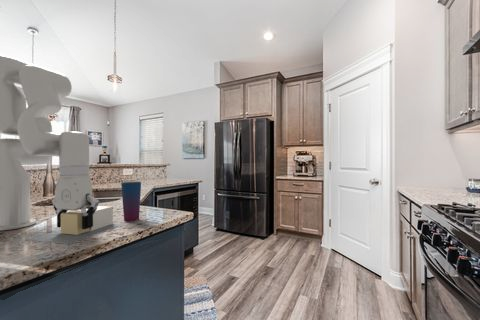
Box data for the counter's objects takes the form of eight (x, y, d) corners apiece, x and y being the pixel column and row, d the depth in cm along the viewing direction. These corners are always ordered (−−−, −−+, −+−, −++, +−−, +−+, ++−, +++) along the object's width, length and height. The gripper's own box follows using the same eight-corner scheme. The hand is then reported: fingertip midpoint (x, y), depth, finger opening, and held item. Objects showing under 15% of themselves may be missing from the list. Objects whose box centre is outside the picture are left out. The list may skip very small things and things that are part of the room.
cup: (133, 224, 81) (133, 183, 81) (117, 224, 82) (116, 182, 82) (145, 219, 88) (144, 181, 88) (129, 219, 89) (129, 181, 89)
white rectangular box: (74, 229, 73) (74, 211, 73) (98, 222, 81) (98, 205, 82) (90, 231, 71) (90, 211, 71) (113, 223, 80) (112, 206, 80)
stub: (60, 233, 69) (60, 213, 69) (73, 229, 72) (73, 210, 73) (77, 234, 67) (77, 214, 67) (89, 230, 71) (89, 211, 71)
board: (25, 242, 64) (25, 239, 64) (88, 223, 83) (88, 221, 83) (69, 247, 60) (69, 244, 60) (125, 226, 79) (125, 223, 79)
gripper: (40, 172, 68) (41, 229, 68) (85, 172, 64) (86, 232, 64) (65, 171, 76) (65, 222, 76) (107, 171, 71) (107, 225, 71)
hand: (75, 227), depth 70 cm, fingers open, 9 cm apart
